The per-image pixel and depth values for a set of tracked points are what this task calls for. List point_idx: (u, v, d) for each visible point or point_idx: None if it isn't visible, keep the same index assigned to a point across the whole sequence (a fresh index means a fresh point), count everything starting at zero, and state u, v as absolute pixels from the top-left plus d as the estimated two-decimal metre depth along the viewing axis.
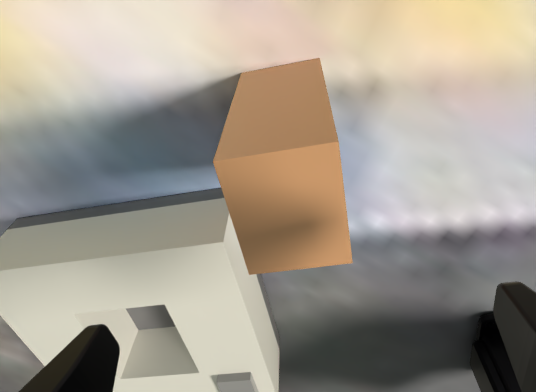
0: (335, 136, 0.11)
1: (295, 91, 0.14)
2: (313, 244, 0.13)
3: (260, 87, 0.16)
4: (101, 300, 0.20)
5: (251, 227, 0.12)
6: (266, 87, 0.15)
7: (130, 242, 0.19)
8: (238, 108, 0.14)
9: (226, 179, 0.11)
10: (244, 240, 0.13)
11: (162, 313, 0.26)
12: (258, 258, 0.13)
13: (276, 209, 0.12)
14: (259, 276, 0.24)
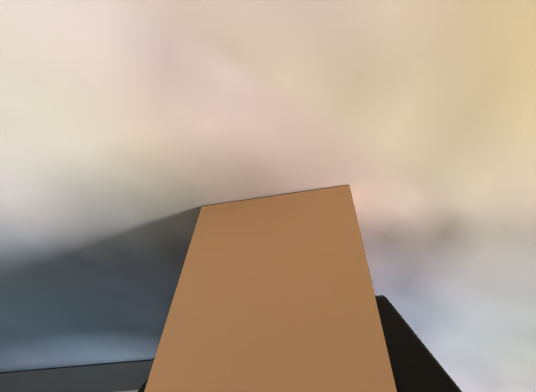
0: None
1: (306, 317, 0.06)
2: None
3: (230, 274, 0.07)
4: None
5: None
6: (244, 281, 0.07)
7: None
8: (171, 369, 0.06)
9: None
10: None
11: None
12: None
13: None
14: None
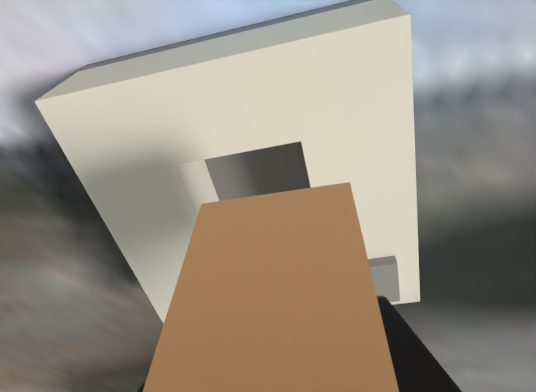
0: None
1: (307, 314, 0.06)
2: None
3: (230, 271, 0.07)
4: (215, 138, 0.15)
5: None
6: (243, 278, 0.07)
7: (262, 42, 0.14)
8: (170, 366, 0.06)
9: None
10: None
11: None
12: None
13: None
14: None
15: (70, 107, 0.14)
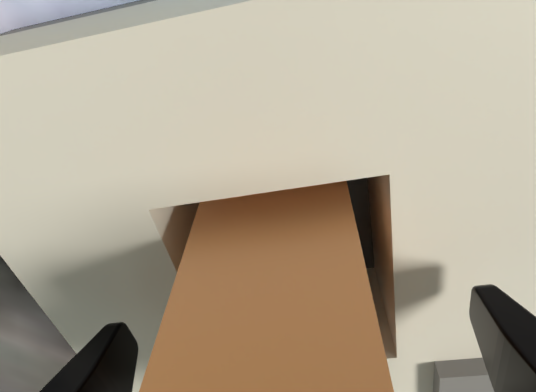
0: None
1: (299, 217, 0.08)
2: None
3: None
4: (226, 165, 0.08)
5: None
6: (251, 199, 0.09)
7: None
8: (199, 251, 0.08)
9: None
10: None
11: None
12: None
13: None
14: None
15: None
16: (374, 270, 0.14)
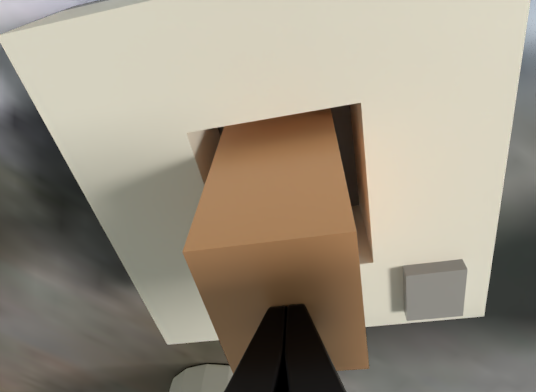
0: (351, 221, 0.08)
1: (296, 137, 0.11)
2: None
3: (253, 127, 0.13)
4: (244, 96, 0.11)
5: (236, 328, 0.09)
6: (261, 129, 0.12)
7: None
8: (223, 160, 0.11)
9: (200, 273, 0.08)
10: (227, 341, 0.10)
11: None
12: None
13: None
14: None
15: (47, 46, 0.10)
16: (359, 206, 0.17)
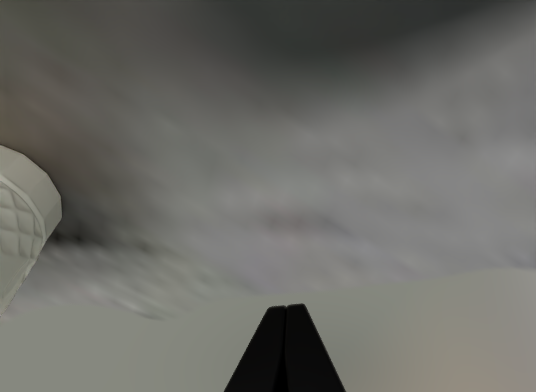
0: None
1: None
2: None
3: None
4: None
5: None
6: None
7: None
8: None
9: None
10: None
11: None
12: None
13: None
14: None
15: None
16: None
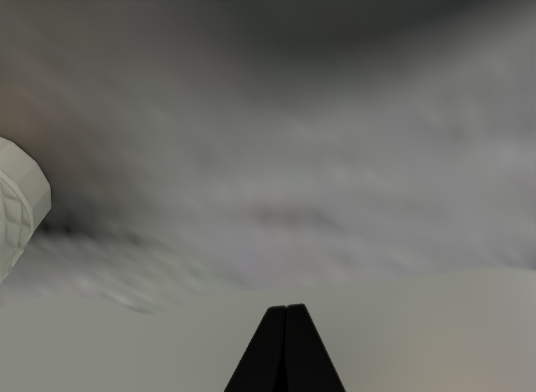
0: None
1: None
2: None
3: None
4: None
5: None
6: None
7: None
8: None
9: None
10: None
11: None
12: None
13: None
14: None
15: None
16: None
